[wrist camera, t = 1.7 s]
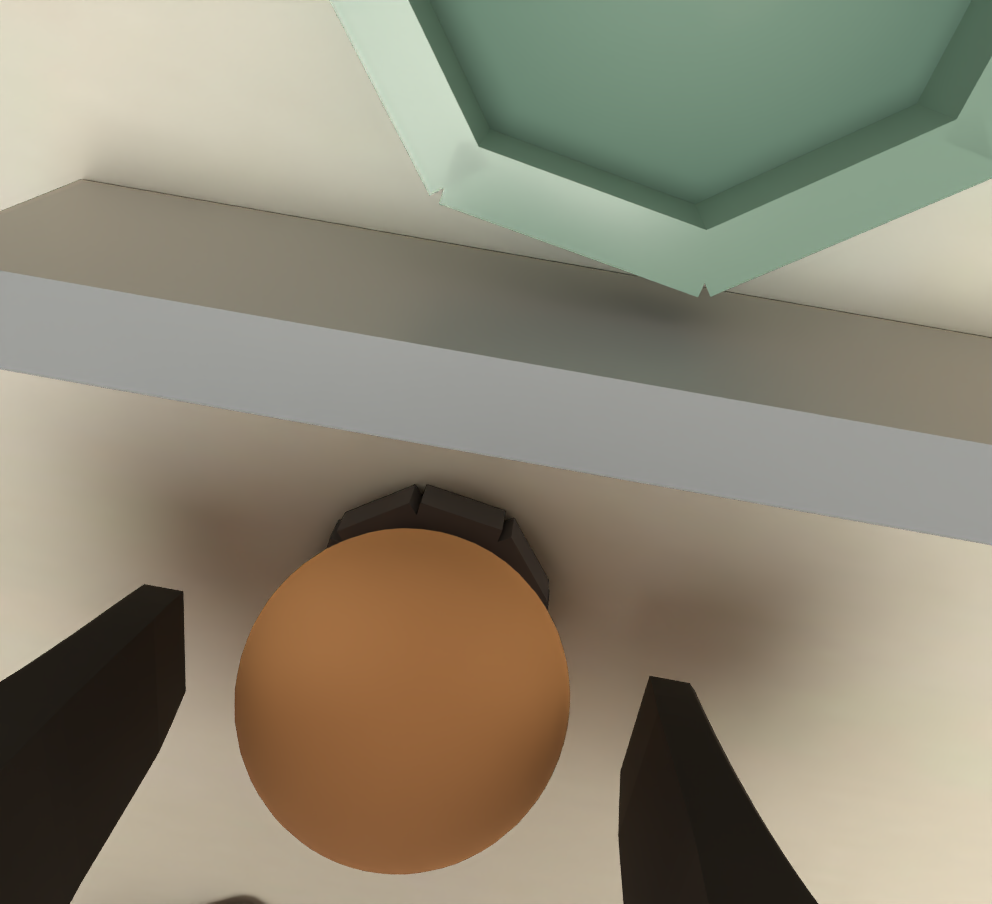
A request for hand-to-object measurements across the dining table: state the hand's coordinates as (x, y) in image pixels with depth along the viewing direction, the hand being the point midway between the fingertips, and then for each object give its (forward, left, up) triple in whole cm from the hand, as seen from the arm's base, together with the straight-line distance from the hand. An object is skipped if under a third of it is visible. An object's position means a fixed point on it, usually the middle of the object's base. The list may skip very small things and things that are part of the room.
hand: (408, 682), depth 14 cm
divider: (+4, -4, -3) cm, 6 cm away
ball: (0, 0, 0) cm, 0 cm away
